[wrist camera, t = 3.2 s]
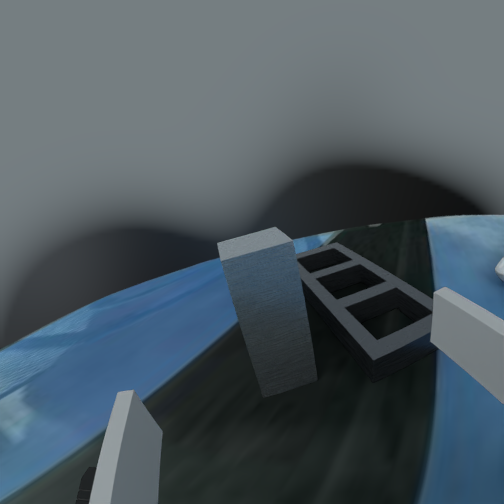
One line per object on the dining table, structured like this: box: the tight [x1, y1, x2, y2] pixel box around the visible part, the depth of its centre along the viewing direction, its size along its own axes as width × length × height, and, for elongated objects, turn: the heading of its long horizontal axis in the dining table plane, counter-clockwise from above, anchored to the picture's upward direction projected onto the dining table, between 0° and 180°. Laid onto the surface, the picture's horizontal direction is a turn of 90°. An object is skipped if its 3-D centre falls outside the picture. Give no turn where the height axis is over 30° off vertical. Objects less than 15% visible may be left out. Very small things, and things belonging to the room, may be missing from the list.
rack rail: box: [296, 242, 439, 383], centre depth 32 cm, size 9×26×2 cm, turn 10°
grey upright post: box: [217, 227, 318, 398], centre depth 22 cm, size 5×5×12 cm
